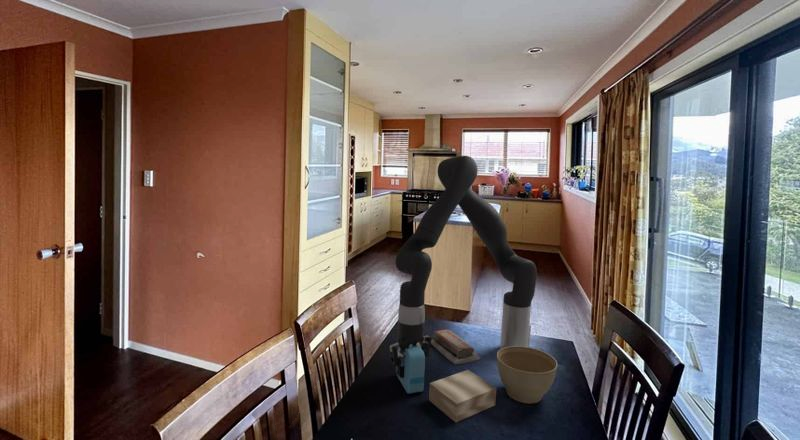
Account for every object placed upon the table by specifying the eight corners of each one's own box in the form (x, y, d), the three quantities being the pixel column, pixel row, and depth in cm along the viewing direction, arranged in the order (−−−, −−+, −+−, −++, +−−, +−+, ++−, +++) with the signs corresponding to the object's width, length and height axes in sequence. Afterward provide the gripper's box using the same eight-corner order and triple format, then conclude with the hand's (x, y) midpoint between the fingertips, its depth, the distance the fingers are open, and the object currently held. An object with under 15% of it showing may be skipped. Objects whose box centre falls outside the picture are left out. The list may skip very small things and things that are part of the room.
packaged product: (428, 330, 143) (452, 326, 147) (428, 343, 144) (451, 339, 148) (455, 352, 127) (481, 347, 131) (455, 366, 128) (480, 360, 132)
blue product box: (423, 393, 111) (425, 353, 109) (408, 396, 110) (409, 355, 108) (409, 372, 122) (411, 335, 121) (395, 374, 121) (396, 336, 119)
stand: (466, 385, 116) (467, 369, 115) (495, 405, 107) (496, 387, 106) (428, 400, 108) (429, 383, 107) (455, 422, 99) (456, 403, 98)
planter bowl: (563, 395, 112) (567, 359, 111) (537, 420, 101) (540, 380, 100) (512, 373, 124) (514, 340, 122) (483, 393, 112) (485, 357, 111)
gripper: (423, 309, 120) (421, 362, 123) (383, 318, 112) (381, 374, 115) (439, 318, 114) (436, 373, 116) (397, 328, 106) (395, 387, 108)
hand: (409, 373), depth 115 cm, fingers closed on blue product box, 5 cm apart
